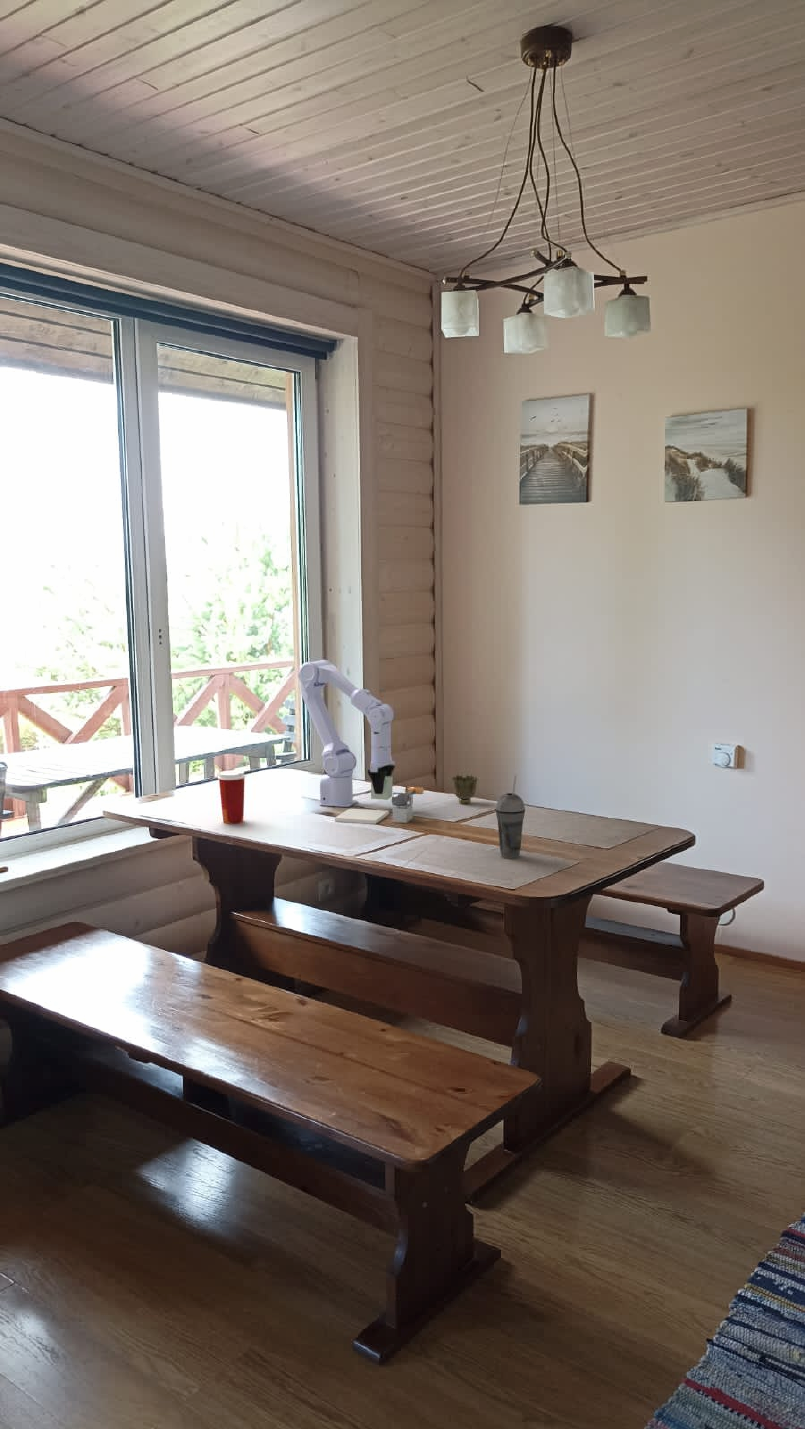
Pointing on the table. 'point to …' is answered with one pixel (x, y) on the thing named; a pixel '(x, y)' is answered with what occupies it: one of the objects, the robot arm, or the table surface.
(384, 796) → the block
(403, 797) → the press lever
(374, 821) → the plate
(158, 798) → the table surface
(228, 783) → the paper cup
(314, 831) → the table surface
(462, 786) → the cup
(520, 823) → the beverage cup
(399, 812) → the white square planter
